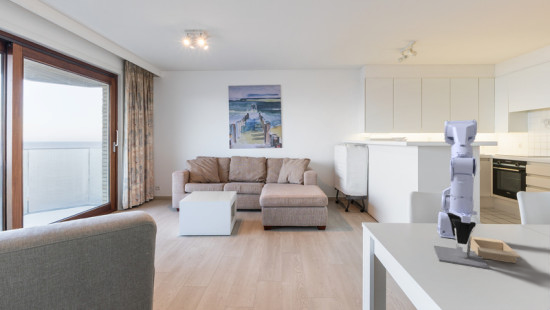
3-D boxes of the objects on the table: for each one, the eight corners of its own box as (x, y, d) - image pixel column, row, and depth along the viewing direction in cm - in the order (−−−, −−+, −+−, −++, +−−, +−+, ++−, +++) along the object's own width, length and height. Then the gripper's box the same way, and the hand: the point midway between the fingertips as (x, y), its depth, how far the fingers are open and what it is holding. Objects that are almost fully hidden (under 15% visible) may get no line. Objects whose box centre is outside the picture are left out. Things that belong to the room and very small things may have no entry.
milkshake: (471, 261, 77) (472, 227, 77) (451, 255, 82) (452, 223, 82) (478, 257, 80) (478, 225, 80) (458, 252, 84) (458, 221, 84)
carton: (480, 260, 80) (480, 250, 79) (468, 244, 92) (468, 235, 92) (519, 266, 76) (520, 256, 76) (501, 248, 89) (501, 240, 88)
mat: (439, 260, 79) (439, 259, 79) (433, 246, 90) (433, 245, 90) (489, 269, 74) (489, 267, 74) (477, 253, 85) (477, 251, 85)
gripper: (484, 202, 73) (482, 250, 73) (470, 193, 86) (469, 234, 87) (454, 199, 76) (452, 246, 76) (445, 191, 89) (443, 231, 89)
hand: (459, 239), depth 82 cm, fingers open, 6 cm apart
